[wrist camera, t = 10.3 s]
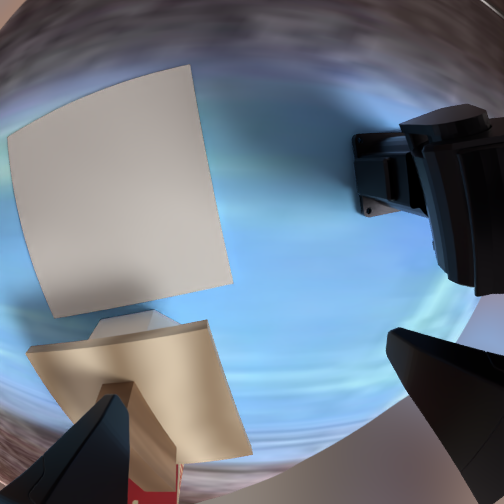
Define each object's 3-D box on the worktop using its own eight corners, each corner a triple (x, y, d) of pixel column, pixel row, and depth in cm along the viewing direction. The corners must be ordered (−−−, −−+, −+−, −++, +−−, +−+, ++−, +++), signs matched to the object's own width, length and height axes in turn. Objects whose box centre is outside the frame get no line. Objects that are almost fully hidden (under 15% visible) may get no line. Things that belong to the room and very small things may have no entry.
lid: (207, 319, 16) (208, 383, 10) (251, 446, 20) (261, 495, 15) (31, 346, 14) (-3, 391, 9) (112, 456, 19) (104, 499, 13)
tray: (190, 66, 16) (190, 64, 15) (232, 280, 21) (233, 283, 20) (10, 137, 14) (7, 137, 14) (56, 315, 19) (54, 318, 19)
